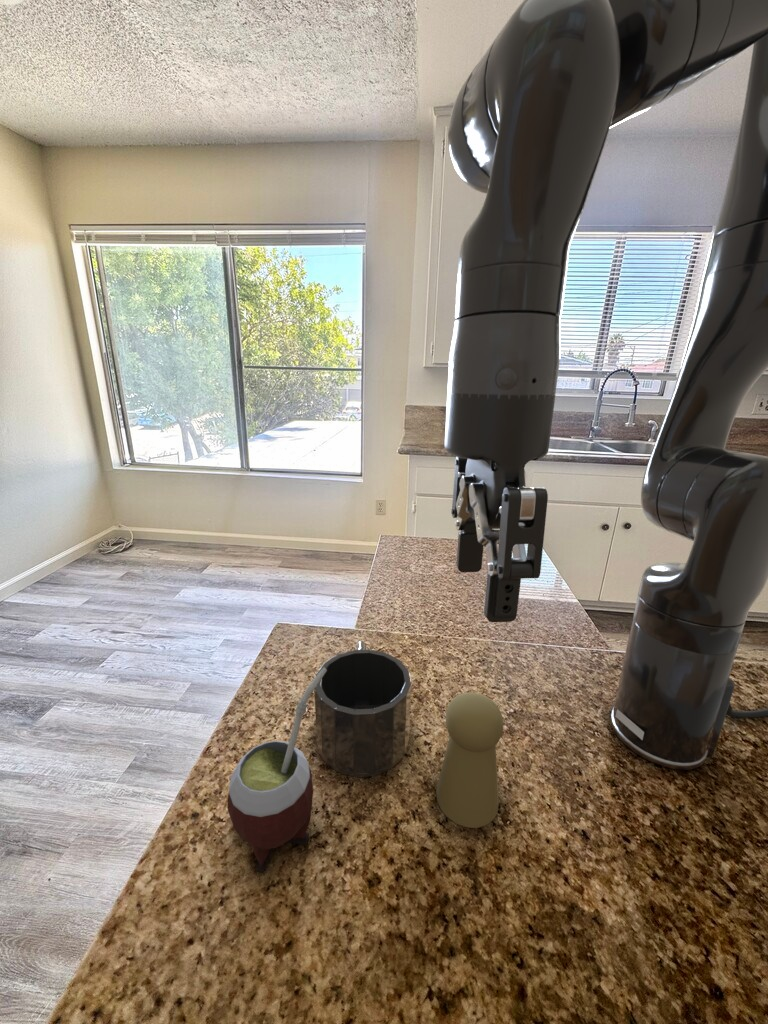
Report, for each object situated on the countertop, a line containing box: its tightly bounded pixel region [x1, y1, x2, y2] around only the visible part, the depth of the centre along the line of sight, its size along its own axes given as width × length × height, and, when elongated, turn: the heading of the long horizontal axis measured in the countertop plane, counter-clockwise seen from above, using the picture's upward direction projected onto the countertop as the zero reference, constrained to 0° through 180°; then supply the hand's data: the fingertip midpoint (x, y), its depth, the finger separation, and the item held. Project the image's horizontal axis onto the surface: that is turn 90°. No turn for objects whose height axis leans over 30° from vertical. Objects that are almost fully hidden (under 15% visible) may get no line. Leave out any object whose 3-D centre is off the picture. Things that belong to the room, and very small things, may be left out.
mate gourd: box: [226, 667, 327, 874], centre depth 36 cm, size 8×8×15 cm
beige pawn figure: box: [435, 691, 504, 829], centre depth 40 cm, size 6×6×11 cm
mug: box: [313, 640, 412, 778], centre depth 49 cm, size 14×10×8 cm
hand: (482, 592), depth 35 cm, fingers open, 8 cm apart
